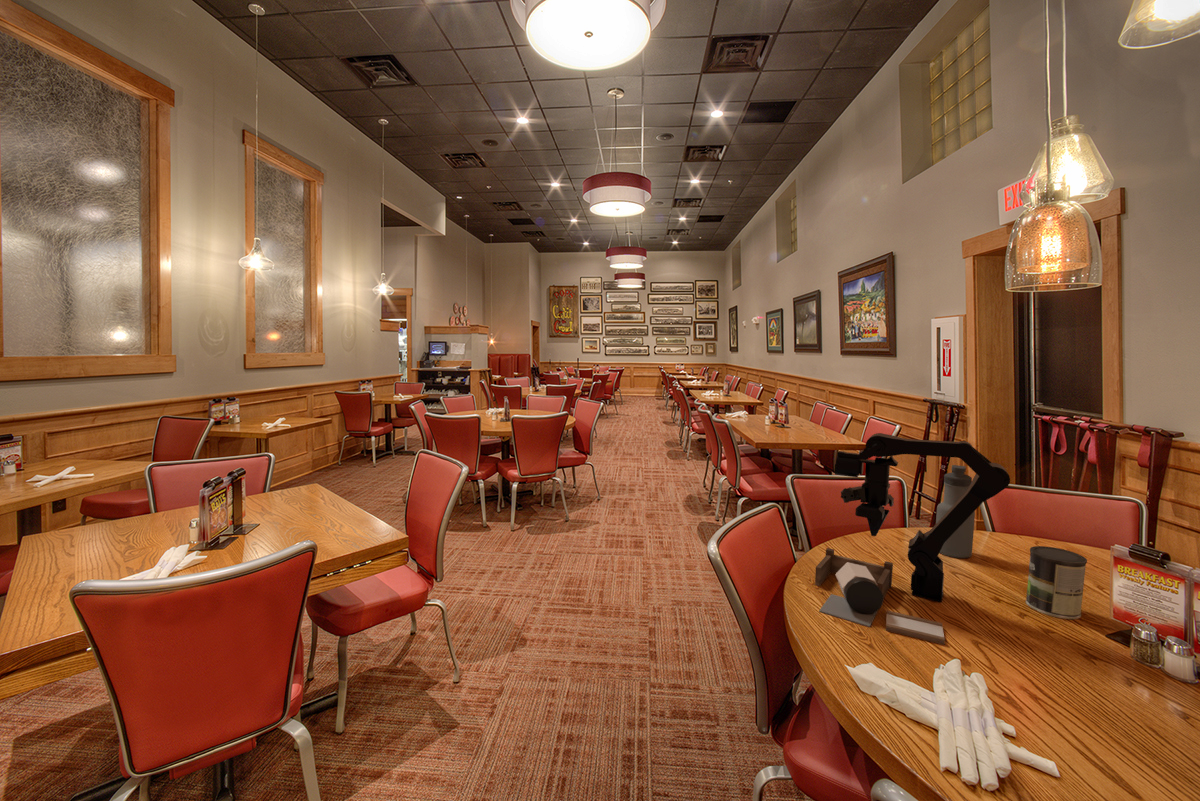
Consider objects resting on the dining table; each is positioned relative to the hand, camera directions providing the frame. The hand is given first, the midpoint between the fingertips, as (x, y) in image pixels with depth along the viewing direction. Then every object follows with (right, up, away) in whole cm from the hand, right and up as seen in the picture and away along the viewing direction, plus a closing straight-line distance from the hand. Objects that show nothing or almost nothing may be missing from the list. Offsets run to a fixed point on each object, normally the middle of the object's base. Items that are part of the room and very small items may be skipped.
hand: (873, 535), depth 136 cm
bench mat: (-14, -14, -15) cm, 25 cm away
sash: (-3, -15, -23) cm, 28 cm away
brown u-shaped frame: (-6, -13, -1) cm, 15 cm away
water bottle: (+38, -12, +22) cm, 45 cm away
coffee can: (+37, -15, -13) cm, 42 cm away
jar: (-9, -9, -6) cm, 14 cm away
